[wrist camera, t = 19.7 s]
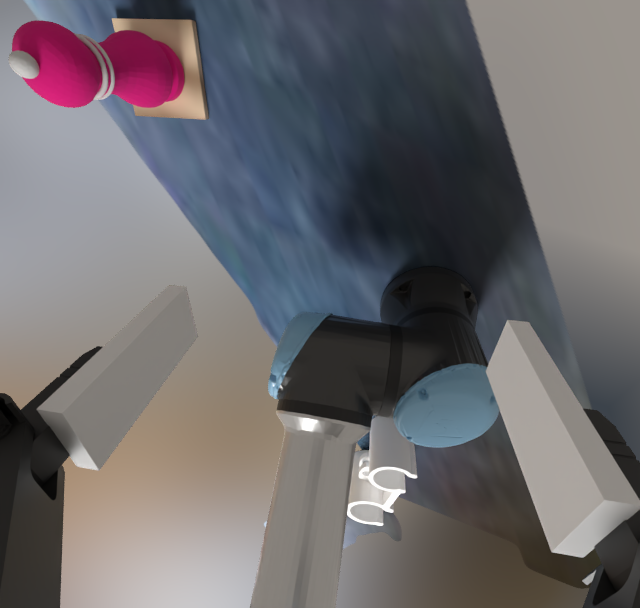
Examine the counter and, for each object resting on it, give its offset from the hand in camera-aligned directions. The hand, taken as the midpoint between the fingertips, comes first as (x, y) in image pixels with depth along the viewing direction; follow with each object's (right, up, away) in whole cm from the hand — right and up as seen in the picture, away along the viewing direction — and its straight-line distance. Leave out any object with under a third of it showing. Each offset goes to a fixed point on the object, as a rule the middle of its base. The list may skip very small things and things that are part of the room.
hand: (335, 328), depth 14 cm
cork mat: (-20, +31, +28) cm, 46 cm away
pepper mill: (-21, +30, +27) cm, 46 cm away
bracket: (+13, -33, +64) cm, 74 cm away
